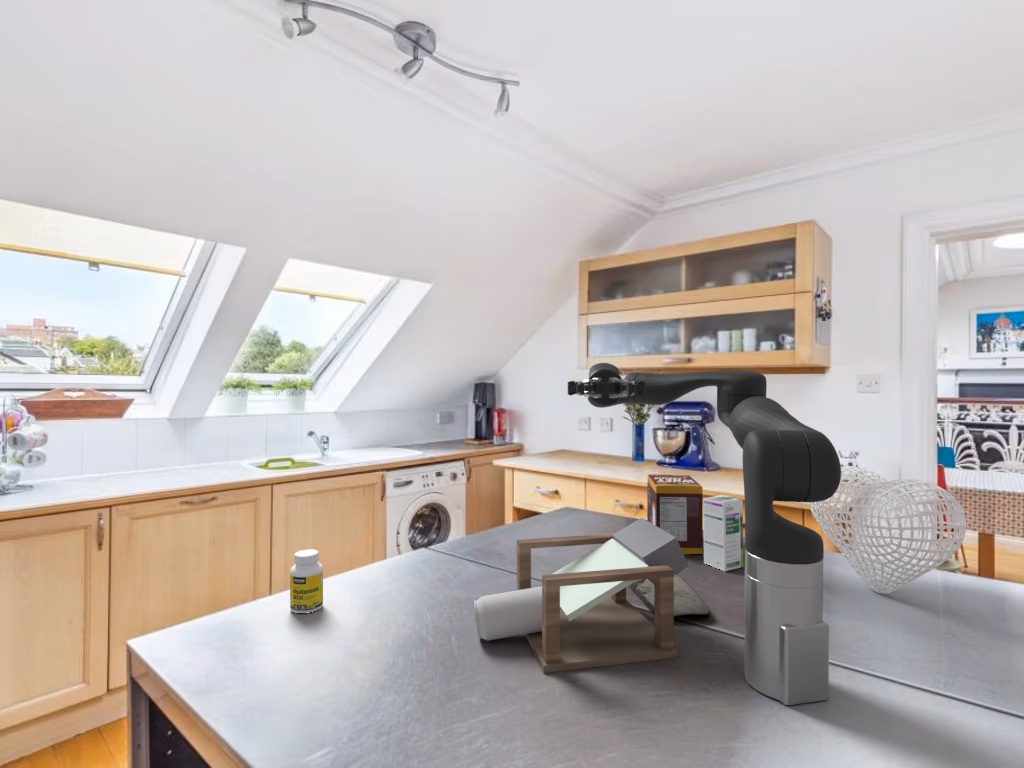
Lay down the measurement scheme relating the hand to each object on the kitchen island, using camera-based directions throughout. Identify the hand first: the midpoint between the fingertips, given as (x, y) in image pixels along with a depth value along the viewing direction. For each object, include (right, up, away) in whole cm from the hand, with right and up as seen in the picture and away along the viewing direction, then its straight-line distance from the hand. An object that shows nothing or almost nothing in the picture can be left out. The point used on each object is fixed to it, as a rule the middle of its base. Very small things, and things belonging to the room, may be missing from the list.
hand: (606, 388), depth 99 cm
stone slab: (+11, -39, +6) cm, 41 cm away
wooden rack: (-5, -38, -12) cm, 40 cm away
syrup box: (+28, -38, +18) cm, 50 cm away
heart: (+51, -38, +4) cm, 64 cm away
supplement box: (+22, -38, +33) cm, 55 cm away
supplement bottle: (-53, -39, -2) cm, 65 cm away
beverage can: (-10, -34, -13) cm, 38 cm away
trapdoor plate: (0, -31, -11) cm, 33 cm away
